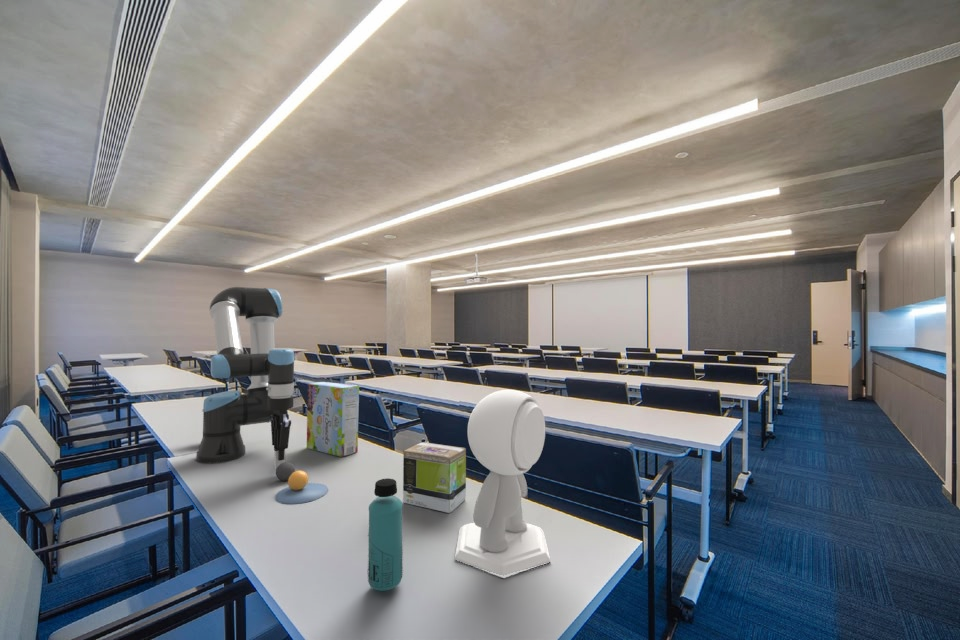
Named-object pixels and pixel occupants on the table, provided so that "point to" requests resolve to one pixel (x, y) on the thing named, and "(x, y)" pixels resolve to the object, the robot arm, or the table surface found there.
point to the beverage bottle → (385, 537)
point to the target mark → (302, 494)
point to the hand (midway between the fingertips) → (279, 469)
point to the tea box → (434, 476)
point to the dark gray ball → (284, 471)
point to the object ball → (298, 480)
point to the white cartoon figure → (504, 484)
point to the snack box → (333, 418)
